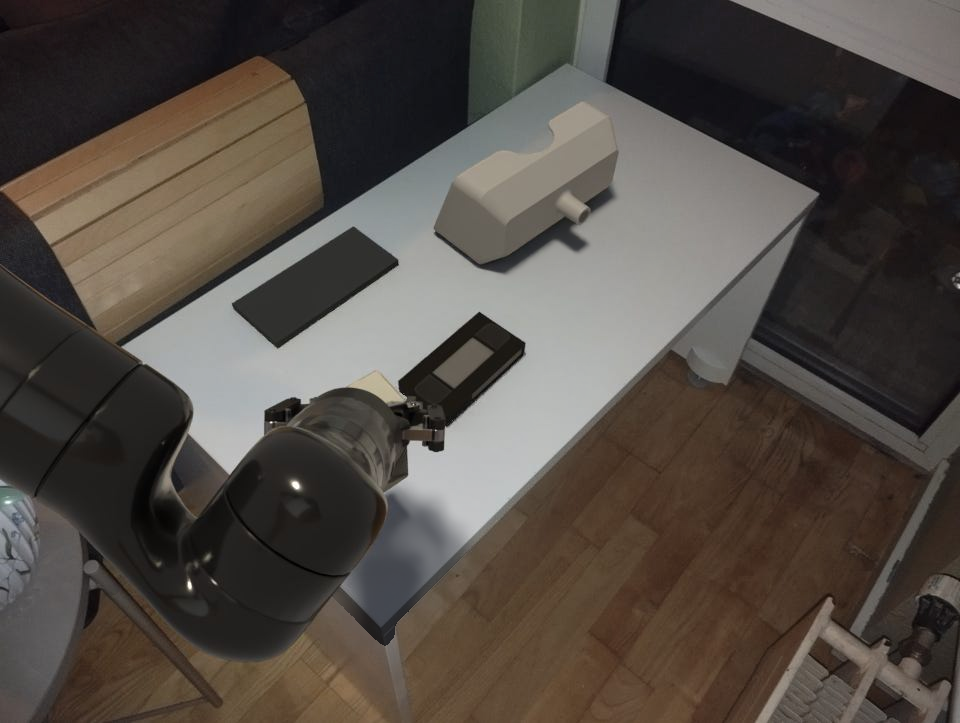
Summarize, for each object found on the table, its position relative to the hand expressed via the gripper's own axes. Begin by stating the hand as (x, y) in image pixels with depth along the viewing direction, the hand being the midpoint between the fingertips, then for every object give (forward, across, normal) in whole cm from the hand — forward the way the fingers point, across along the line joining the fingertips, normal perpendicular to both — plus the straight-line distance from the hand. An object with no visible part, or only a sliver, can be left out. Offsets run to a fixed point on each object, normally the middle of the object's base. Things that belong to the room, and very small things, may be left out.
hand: (371, 405), depth 68 cm
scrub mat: (+33, +12, -9) cm, 36 cm away
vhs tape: (+24, -8, 0) cm, 25 cm away
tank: (+43, -17, -19) cm, 50 cm away
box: (+6, 0, +8) cm, 10 cm away
